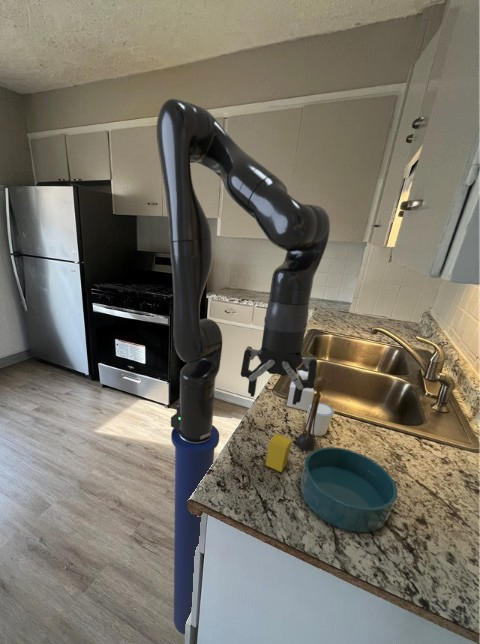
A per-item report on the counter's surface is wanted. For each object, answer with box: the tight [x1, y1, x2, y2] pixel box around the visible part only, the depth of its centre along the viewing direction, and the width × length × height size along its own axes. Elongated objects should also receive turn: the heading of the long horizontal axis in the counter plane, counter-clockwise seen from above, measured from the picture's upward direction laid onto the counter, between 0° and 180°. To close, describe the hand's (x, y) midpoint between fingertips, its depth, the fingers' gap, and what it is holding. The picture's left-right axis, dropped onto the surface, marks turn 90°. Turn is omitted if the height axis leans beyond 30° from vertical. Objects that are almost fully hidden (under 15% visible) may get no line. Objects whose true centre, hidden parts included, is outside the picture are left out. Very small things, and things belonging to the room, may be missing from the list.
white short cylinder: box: [305, 402, 335, 437], centre depth 87 cm, size 7×7×7 cm
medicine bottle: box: [286, 366, 317, 412], centre depth 98 cm, size 7×7×12 cm
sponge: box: [265, 433, 293, 473], centre depth 74 cm, size 4×4×7 cm
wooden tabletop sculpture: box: [295, 375, 334, 452], centre depth 78 cm, size 6×5×20 cm
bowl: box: [299, 446, 398, 533], centre depth 66 cm, size 17×17×6 cm
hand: (273, 398), depth 65 cm, fingers open, 8 cm apart
